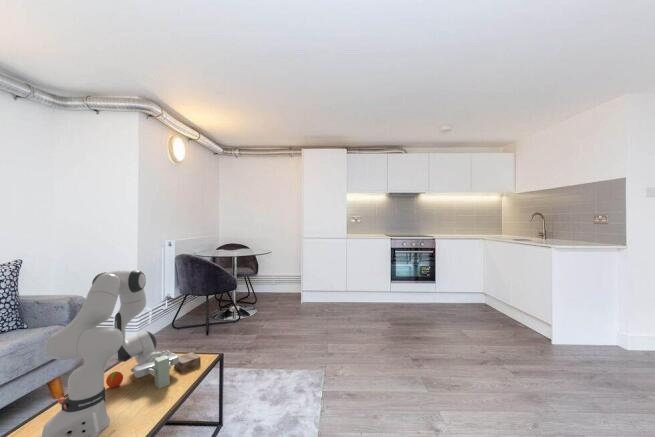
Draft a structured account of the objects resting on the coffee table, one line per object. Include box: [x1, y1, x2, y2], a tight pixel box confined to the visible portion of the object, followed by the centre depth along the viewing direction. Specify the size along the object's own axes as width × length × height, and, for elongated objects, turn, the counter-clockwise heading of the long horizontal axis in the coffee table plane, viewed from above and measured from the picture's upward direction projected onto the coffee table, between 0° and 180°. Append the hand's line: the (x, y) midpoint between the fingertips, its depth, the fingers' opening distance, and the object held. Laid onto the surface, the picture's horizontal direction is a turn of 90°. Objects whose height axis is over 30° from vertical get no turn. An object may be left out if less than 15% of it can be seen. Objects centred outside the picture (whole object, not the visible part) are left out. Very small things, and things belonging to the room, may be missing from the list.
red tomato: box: [105, 371, 124, 388], centre depth 153 cm, size 8×7×7 cm
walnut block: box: [173, 351, 202, 373], centre depth 173 cm, size 10×10×4 cm
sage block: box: [154, 355, 171, 389], centre depth 154 cm, size 5×5×13 cm
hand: (162, 369), depth 153 cm, fingers closed on sage block, 5 cm apart
